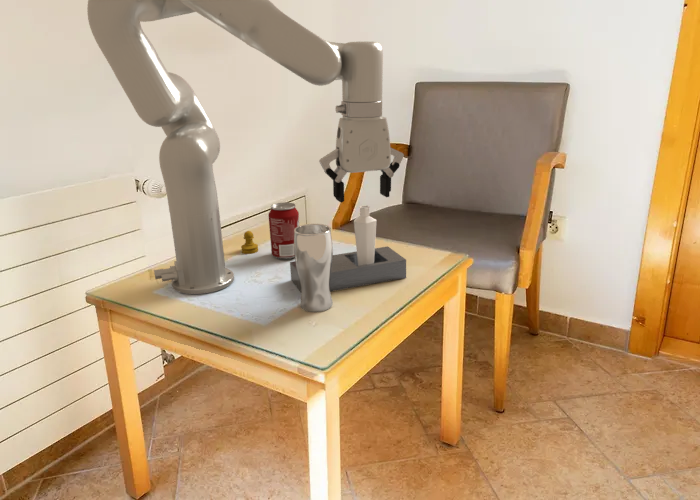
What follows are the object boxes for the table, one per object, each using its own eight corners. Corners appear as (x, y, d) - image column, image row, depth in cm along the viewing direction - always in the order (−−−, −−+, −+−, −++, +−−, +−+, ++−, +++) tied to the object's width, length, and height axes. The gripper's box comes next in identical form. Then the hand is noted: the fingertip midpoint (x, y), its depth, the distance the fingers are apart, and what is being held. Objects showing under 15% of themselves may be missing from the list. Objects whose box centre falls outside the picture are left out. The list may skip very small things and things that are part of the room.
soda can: (299, 260, 134) (296, 209, 130) (269, 261, 134) (265, 210, 130) (302, 250, 140) (299, 201, 136) (274, 251, 140) (270, 201, 136)
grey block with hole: (303, 296, 115) (302, 277, 114) (291, 280, 123) (289, 262, 122) (406, 277, 122) (406, 259, 121) (387, 263, 130) (387, 246, 129)
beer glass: (315, 294, 116) (311, 220, 111) (342, 303, 112) (339, 227, 107) (290, 307, 111) (284, 230, 106) (317, 316, 107) (313, 237, 102)
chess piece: (244, 255, 138) (242, 234, 137) (239, 250, 142) (237, 230, 140) (260, 252, 140) (259, 231, 138) (255, 247, 143) (253, 227, 142)
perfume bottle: (351, 274, 125) (348, 205, 120) (369, 270, 127) (368, 202, 122) (360, 281, 121) (358, 211, 116) (379, 278, 123) (378, 208, 118)
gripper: (325, 115, 106) (327, 207, 112) (412, 110, 112) (410, 198, 118) (312, 110, 113) (315, 198, 119) (395, 106, 119) (393, 189, 125)
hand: (362, 198), depth 118 cm, fingers open, 9 cm apart
